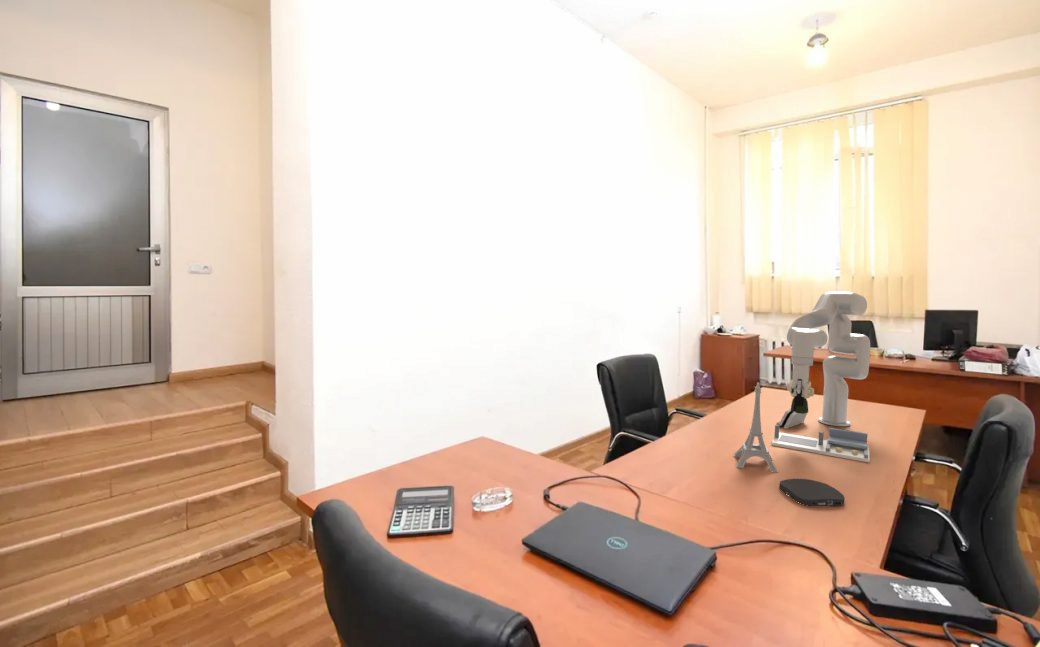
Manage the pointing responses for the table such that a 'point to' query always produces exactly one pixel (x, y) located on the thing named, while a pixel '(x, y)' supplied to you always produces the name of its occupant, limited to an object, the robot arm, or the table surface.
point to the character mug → (806, 394)
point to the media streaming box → (812, 492)
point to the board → (819, 446)
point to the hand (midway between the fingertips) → (799, 403)
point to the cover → (848, 438)
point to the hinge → (791, 419)
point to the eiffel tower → (755, 431)
